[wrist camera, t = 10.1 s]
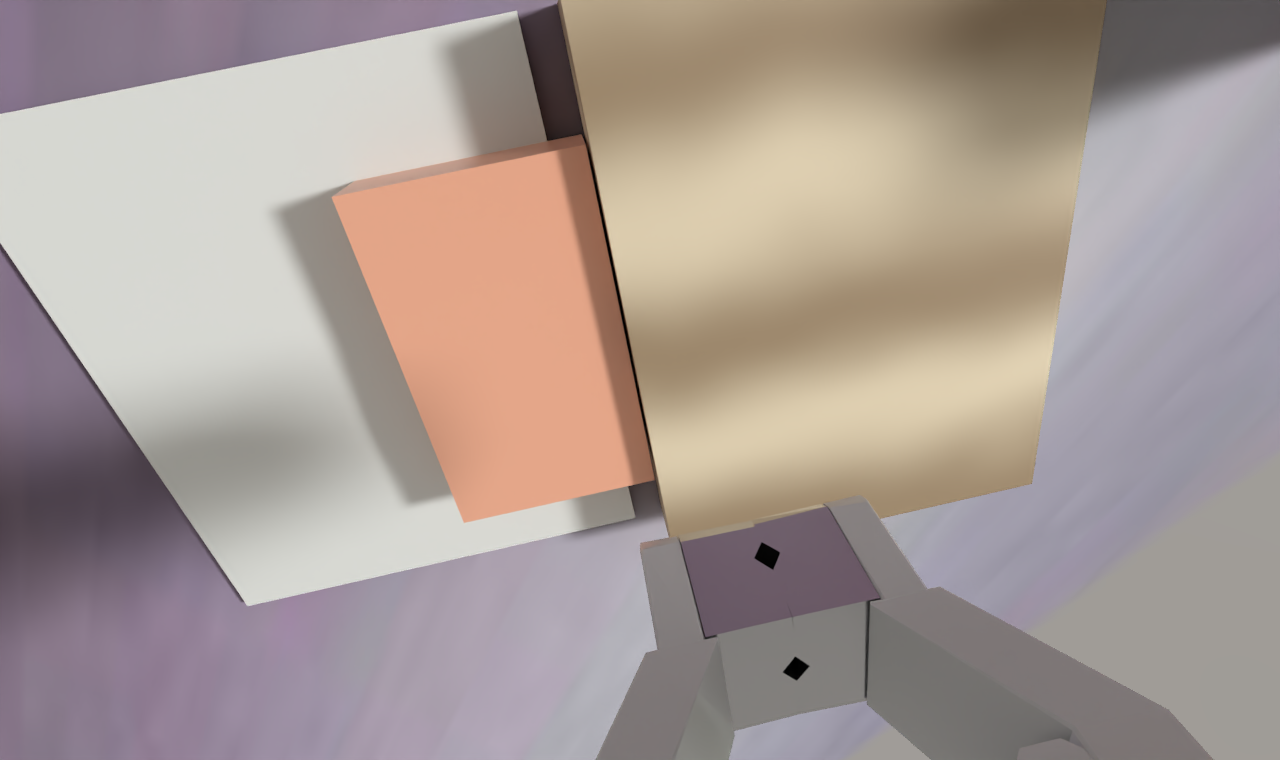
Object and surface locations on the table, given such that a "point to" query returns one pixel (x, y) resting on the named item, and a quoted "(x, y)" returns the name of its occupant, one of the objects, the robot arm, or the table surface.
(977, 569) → the table surface
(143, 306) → the mat
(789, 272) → the plate
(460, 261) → the salmon pink rectangular block
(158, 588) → the table surface
